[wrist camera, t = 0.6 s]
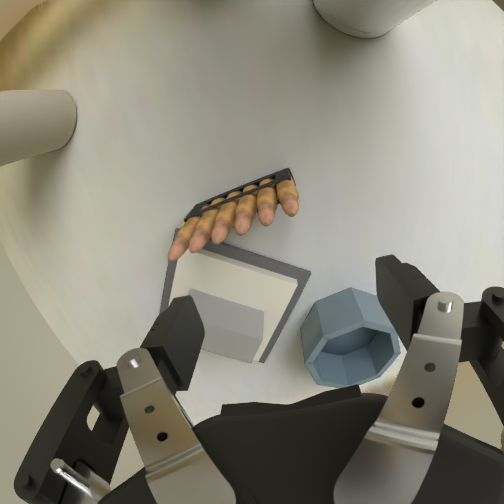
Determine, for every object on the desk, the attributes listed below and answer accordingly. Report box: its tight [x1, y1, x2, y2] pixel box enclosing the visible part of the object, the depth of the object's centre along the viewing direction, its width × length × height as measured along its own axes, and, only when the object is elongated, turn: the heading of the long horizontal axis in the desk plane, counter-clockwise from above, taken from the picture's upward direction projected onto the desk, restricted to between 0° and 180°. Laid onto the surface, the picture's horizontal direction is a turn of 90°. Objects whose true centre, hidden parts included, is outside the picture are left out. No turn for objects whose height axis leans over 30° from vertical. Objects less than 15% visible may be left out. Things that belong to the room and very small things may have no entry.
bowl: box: [301, 288, 400, 388], centre depth 32 cm, size 11×11×6 cm
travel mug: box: [0, 90, 76, 166], centre depth 17 cm, size 8×8×18 cm
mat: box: [159, 228, 311, 363], centre depth 34 cm, size 16×16×1 cm
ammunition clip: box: [168, 168, 299, 262], centre depth 23 cm, size 11×2×12 cm, turn 113°
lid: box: [168, 248, 298, 363], centre depth 31 cm, size 14×14×6 cm
